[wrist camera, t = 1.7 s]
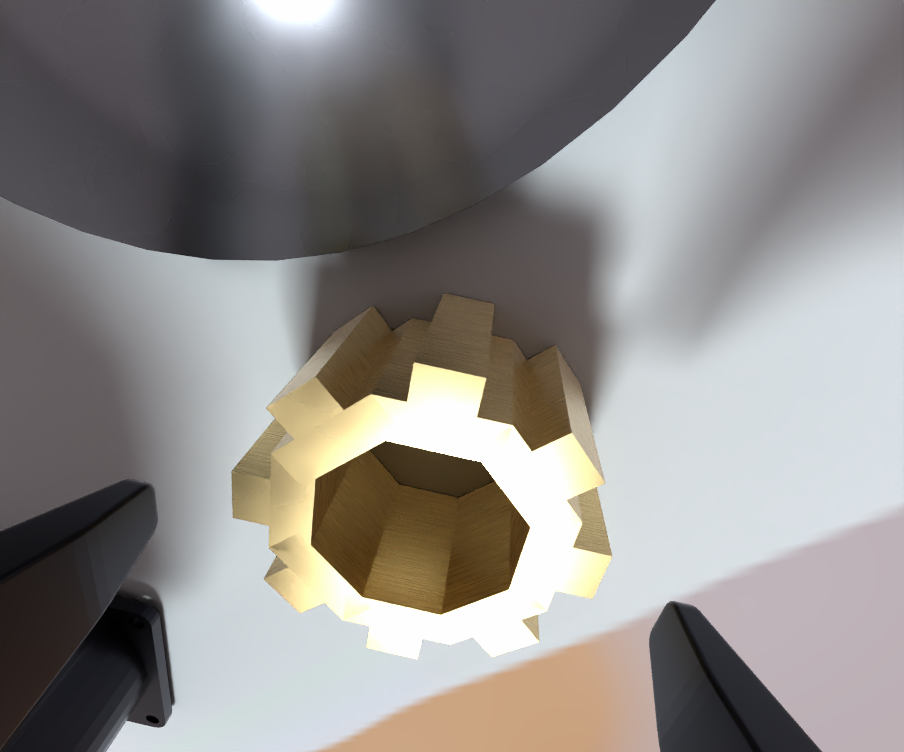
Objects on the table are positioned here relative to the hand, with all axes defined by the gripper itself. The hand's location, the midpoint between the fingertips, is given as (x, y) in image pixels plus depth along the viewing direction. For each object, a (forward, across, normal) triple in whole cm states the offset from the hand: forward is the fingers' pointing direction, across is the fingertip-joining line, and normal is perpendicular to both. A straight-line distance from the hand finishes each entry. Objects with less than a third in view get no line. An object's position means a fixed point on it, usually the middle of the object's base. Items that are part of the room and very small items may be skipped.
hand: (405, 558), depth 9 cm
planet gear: (+4, 0, 0) cm, 4 cm away
